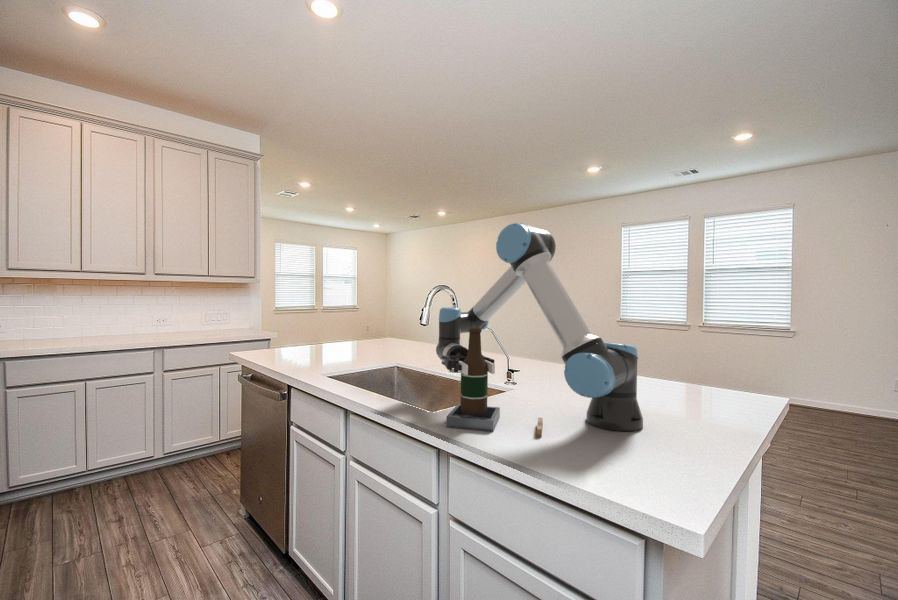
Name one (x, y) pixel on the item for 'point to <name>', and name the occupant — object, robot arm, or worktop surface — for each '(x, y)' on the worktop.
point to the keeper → (473, 419)
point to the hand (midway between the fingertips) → (480, 369)
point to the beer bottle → (474, 377)
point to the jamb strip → (539, 427)
